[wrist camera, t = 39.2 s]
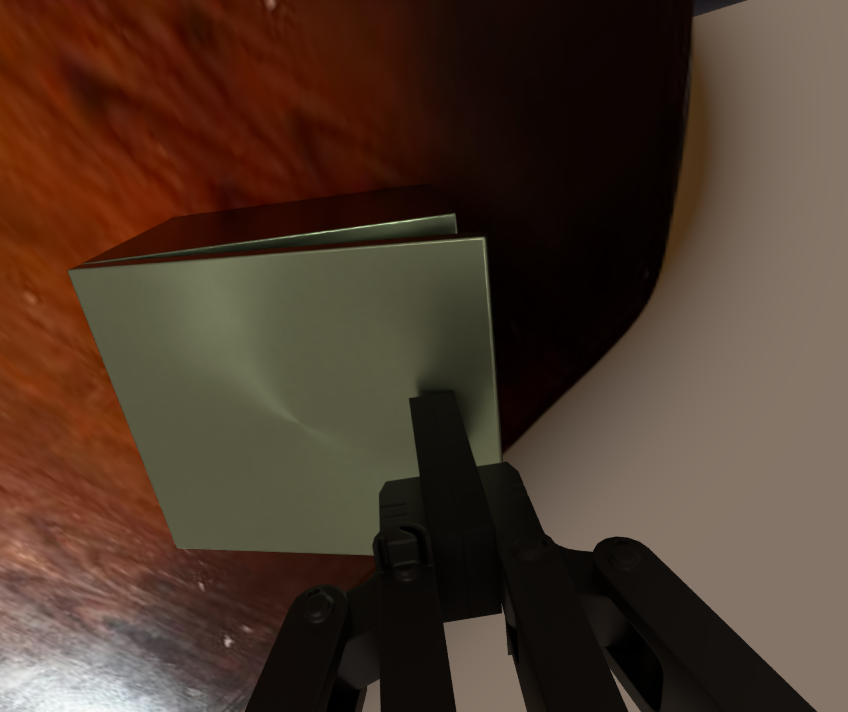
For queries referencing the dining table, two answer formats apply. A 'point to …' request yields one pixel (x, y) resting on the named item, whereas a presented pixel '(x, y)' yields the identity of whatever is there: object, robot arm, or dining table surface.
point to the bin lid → (293, 379)
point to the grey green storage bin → (295, 225)
